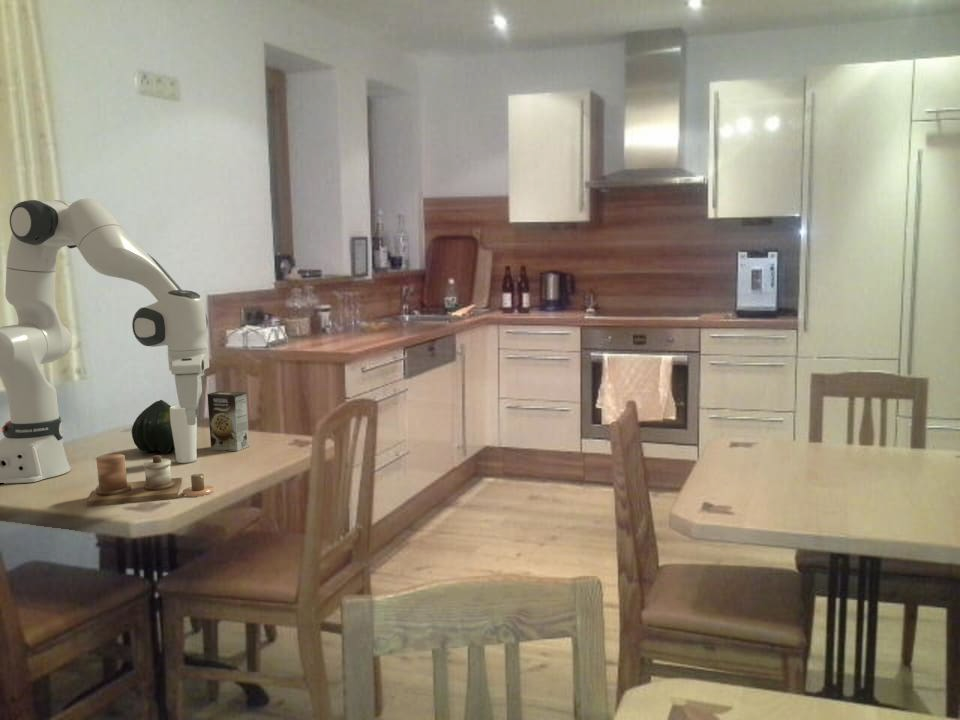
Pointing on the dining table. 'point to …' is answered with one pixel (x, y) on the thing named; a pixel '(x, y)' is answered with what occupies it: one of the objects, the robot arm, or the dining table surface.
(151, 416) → the squash
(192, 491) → the jar lid
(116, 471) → the holder
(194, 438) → the drinking glass
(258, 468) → the dining table surface
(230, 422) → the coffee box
